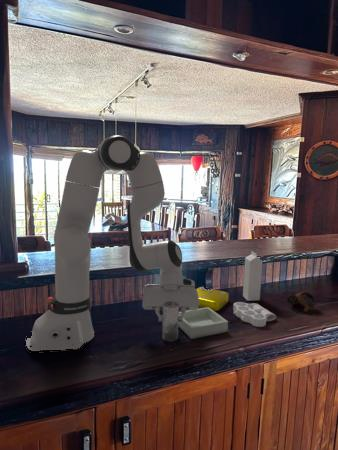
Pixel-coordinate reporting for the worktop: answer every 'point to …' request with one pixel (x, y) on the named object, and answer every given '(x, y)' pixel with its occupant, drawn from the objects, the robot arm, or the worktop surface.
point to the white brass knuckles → (253, 313)
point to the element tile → (212, 298)
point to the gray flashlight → (170, 321)
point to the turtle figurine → (301, 300)
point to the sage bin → (202, 323)
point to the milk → (252, 277)
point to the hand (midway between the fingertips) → (170, 321)
